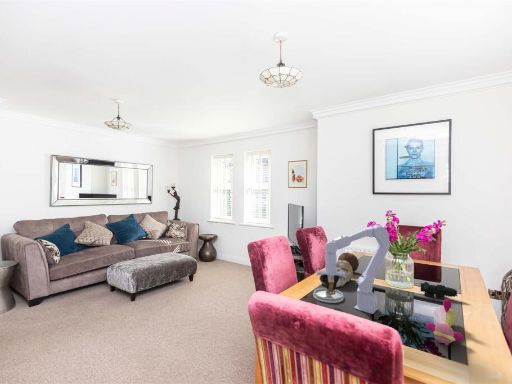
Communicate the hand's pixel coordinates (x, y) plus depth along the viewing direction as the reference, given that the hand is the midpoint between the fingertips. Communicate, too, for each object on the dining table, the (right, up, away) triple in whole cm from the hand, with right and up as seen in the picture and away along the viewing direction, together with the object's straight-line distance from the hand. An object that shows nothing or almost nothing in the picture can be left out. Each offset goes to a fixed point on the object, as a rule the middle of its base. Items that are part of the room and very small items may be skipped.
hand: (330, 289), depth 141 cm
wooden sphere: (+29, -9, +56) cm, 64 cm away
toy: (+41, -9, -28) cm, 50 cm away
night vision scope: (+65, -9, +11) cm, 67 cm away
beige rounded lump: (+14, -9, +34) cm, 38 cm away
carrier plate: (+2, -8, +11) cm, 14 cm away
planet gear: (0, -2, 0) cm, 2 cm away
